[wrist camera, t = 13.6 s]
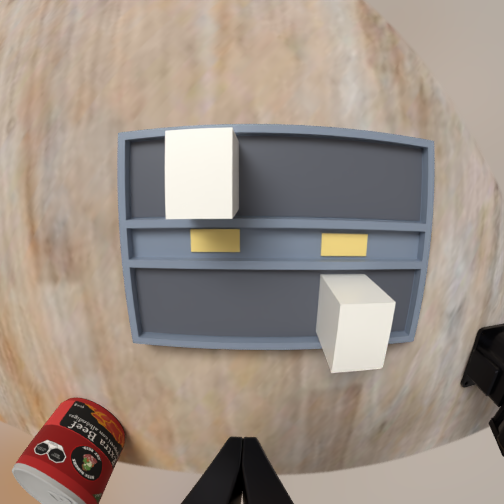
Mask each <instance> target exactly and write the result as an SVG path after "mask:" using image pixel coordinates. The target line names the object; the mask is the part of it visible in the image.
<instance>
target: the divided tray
mask: <svg viewBox="0 0 504 504" xmlns="http://www.w3.org/2000/svg"><path fill="white" fill-rule="evenodd" d="M227 127H233V130H234V132H235V134H236V137H237V139H238V141H239V210H238V211H237V213H236V214H235V216H234V217H233V218H232V219H166V213H165V131H169V130H182V129H199V128H227ZM433 202H434V141H431V140H425V139H420V138H414V137H408V136H402V135H395V134H388V133H381V132H373V131H365V130H356V129H346V128H335V127H321V126H305V125H281V124H222V125H197V126H181V127H168V128H157V129H147V130H138V131H129V132H122V133H118V211H119V230H120V244H121V256H122V266H123V276H124V284H125V293H126V300H127V307H128V314H129V321H130V327H131V333H132V339H133V343H139V344H149V345H161V346H174V347H189V348H208V349H238V350H295V349H322V346H321V344H320V341H319V338H318V336H317V333H316V323H317V312H318V300H319V287H320V274H365V275H366V276H368V277H369V278H370V279H371V280H372V281H373V282H374V283H375V284H376V285H377V286H379V287H380V288H381V289H382V290H383V291H384V292H385V293H386V294H387V295H388V296H390V297H391V298H392V299H393V300H394V301H395V302H396V304H395V310H394V315H393V321H392V326H391V331H390V336H389V341H388V344H393V343H403V342H412V341H414V337H415V332H416V328H417V323H418V319H419V314H420V309H421V303H422V298H423V292H424V286H425V280H426V273H427V266H428V259H429V251H430V241H431V231H432V218H433Z"/></svg>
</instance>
